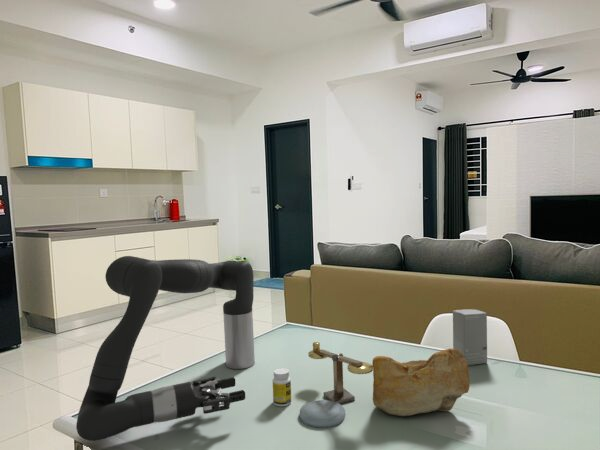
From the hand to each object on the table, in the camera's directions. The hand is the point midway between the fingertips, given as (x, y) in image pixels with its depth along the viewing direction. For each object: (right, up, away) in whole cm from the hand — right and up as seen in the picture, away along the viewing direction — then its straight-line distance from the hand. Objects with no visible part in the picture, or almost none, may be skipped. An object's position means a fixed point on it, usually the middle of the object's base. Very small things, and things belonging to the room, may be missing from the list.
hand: (239, 387), depth 109 cm
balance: (+25, -5, +6) cm, 27 cm away
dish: (+20, -6, -2) cm, 21 cm away
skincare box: (+68, -2, +28) cm, 74 cm away
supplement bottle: (+10, -6, +5) cm, 13 cm away
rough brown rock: (+45, -5, +2) cm, 45 cm away
